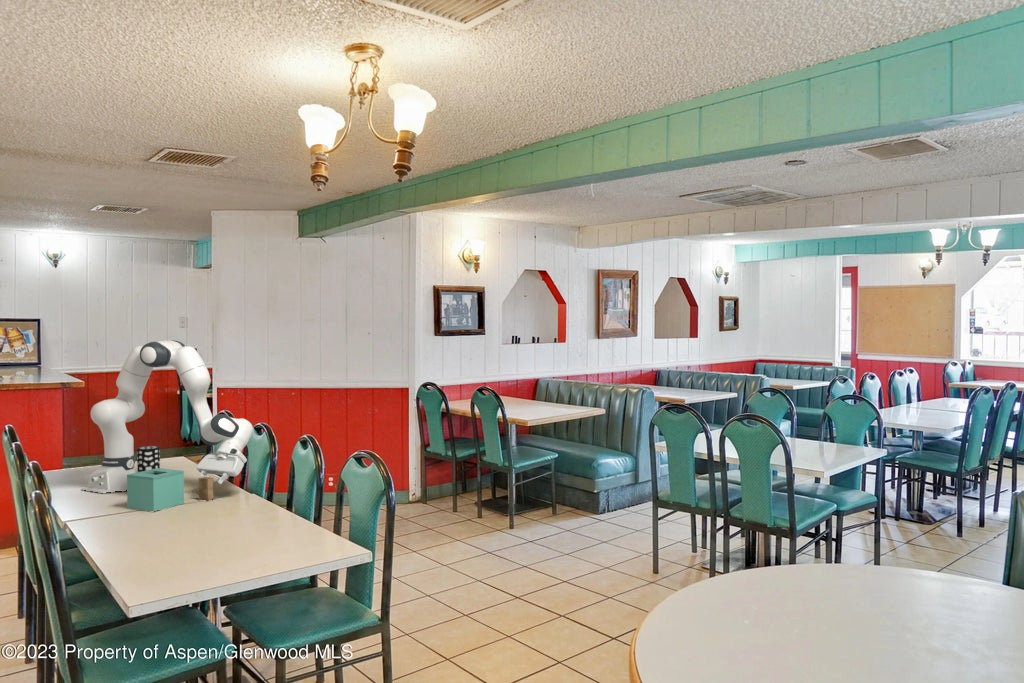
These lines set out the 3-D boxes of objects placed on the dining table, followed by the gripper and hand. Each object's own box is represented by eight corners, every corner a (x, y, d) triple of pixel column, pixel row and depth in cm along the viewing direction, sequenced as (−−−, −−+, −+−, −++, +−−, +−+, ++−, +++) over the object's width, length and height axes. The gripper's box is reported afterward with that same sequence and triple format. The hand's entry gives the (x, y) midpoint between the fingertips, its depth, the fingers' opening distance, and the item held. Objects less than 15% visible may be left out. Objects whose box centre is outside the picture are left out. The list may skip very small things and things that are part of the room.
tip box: (127, 508, 280) (126, 474, 280) (158, 500, 293) (157, 468, 292) (153, 512, 274) (153, 477, 274) (184, 503, 287) (183, 470, 287)
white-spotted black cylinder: (165, 494, 302) (164, 446, 302) (149, 499, 295) (148, 449, 294) (149, 493, 305) (148, 445, 305) (133, 497, 297) (132, 448, 297)
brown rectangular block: (198, 500, 293) (198, 477, 293) (203, 498, 295) (203, 476, 295) (208, 501, 291) (207, 479, 291) (213, 500, 293) (212, 477, 293)
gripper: (204, 448, 305) (186, 475, 297) (242, 451, 297) (224, 480, 288) (213, 456, 310) (194, 484, 301) (250, 460, 301) (232, 488, 293)
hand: (209, 482), depth 295 cm, fingers open, 8 cm apart
